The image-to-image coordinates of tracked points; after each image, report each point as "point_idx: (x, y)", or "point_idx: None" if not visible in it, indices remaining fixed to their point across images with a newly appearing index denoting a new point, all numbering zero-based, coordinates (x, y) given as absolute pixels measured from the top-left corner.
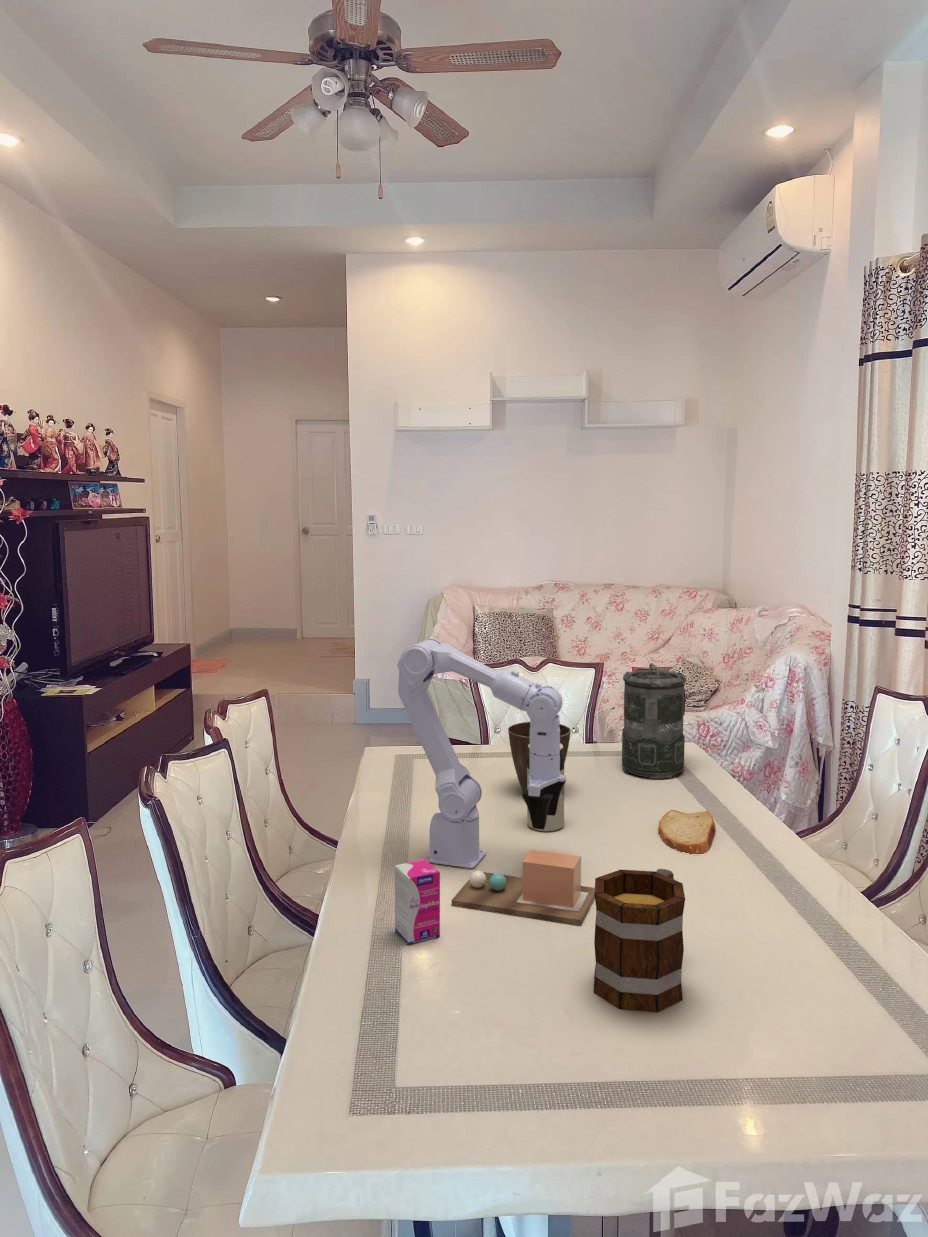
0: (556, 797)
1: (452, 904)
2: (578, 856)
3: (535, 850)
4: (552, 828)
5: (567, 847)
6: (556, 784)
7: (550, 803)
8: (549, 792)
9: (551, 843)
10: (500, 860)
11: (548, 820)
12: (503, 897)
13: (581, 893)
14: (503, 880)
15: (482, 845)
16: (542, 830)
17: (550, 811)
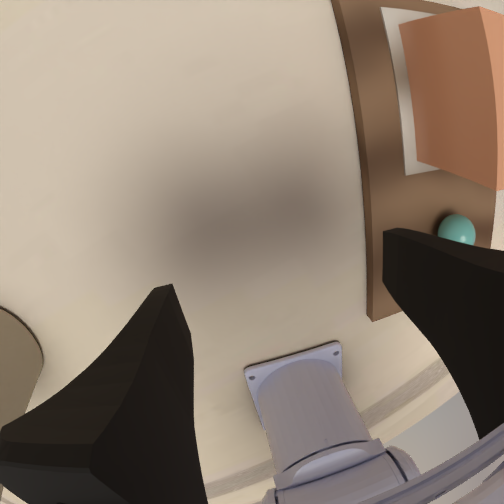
0: (151, 360)
1: None
2: (484, 15)
3: (498, 176)
4: (10, 320)
5: (57, 227)
6: (143, 468)
7: (175, 356)
8: (173, 428)
9: (66, 281)
10: (257, 326)
11: (10, 342)
12: (468, 198)
13: (394, 23)
14: (468, 221)
15: (200, 395)
16: (32, 336)
17: (179, 319)
